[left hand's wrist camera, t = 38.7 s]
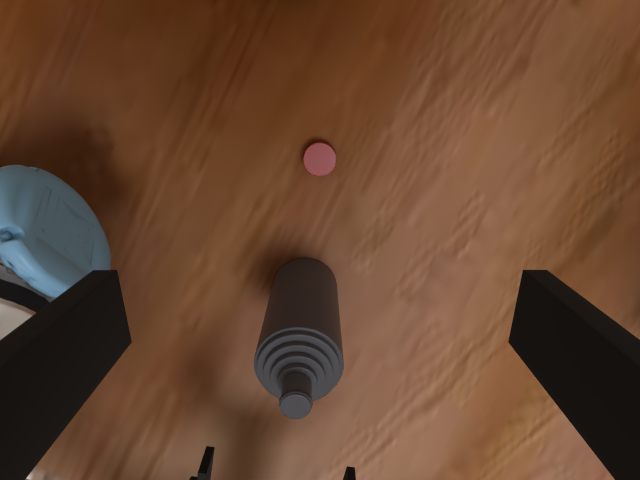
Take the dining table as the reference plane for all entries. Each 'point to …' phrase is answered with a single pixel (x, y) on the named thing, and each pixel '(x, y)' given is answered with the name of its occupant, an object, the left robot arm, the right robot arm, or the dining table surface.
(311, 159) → the cap
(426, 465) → the dining table surface
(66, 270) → the right robot arm
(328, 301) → the bottle
